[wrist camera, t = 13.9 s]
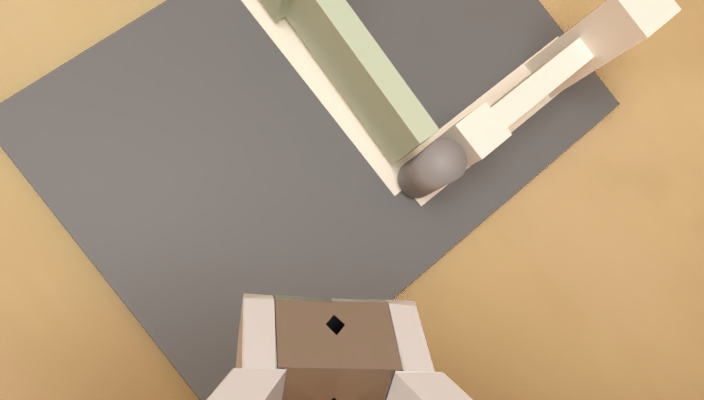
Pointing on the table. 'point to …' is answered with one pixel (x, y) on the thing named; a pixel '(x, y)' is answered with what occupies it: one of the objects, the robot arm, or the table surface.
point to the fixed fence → (561, 68)
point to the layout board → (273, 158)
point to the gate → (374, 91)
